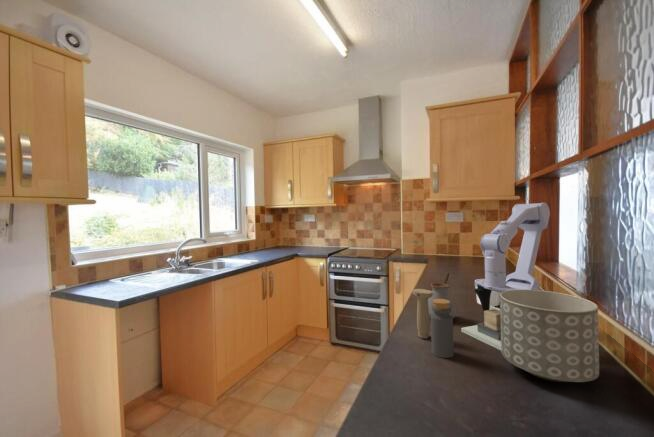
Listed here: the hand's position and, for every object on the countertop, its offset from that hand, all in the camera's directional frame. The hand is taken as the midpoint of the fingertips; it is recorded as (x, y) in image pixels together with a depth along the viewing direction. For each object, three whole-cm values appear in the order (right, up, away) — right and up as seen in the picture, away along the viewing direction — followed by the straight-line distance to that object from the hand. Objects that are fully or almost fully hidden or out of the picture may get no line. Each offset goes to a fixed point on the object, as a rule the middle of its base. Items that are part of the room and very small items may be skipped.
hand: (496, 313), depth 91 cm
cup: (+17, -7, +34) cm, 39 cm away
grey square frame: (+1, -6, 0) cm, 6 cm away
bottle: (-21, -8, -9) cm, 24 cm away
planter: (0, -8, -20) cm, 22 cm away
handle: (-23, -8, +2) cm, 24 cm away
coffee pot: (-8, -8, +22) cm, 25 cm away
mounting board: (0, -8, 0) cm, 8 cm away
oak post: (0, -6, 0) cm, 6 cm away
